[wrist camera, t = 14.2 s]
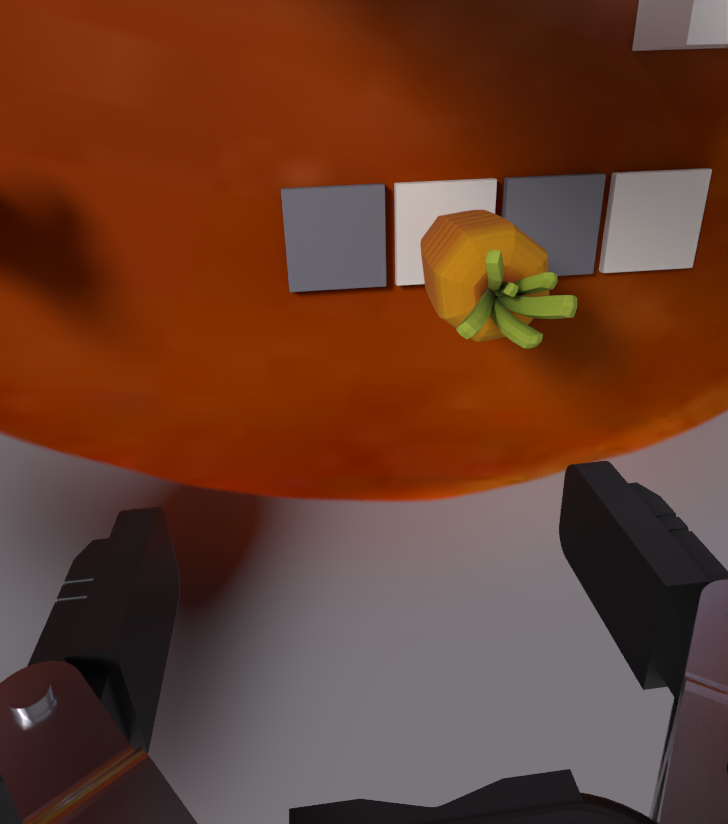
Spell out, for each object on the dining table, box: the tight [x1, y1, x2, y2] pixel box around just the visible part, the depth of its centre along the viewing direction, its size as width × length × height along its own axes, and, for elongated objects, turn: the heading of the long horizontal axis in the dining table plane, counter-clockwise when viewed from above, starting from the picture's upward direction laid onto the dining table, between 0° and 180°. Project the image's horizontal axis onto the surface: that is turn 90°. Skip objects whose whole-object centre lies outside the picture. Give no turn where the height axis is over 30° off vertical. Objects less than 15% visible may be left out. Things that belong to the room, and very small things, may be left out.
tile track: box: [281, 168, 712, 292], centre depth 36 cm, size 5×23×1 cm, turn 92°
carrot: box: [420, 210, 577, 348], centre depth 28 cm, size 5×5×15 cm
